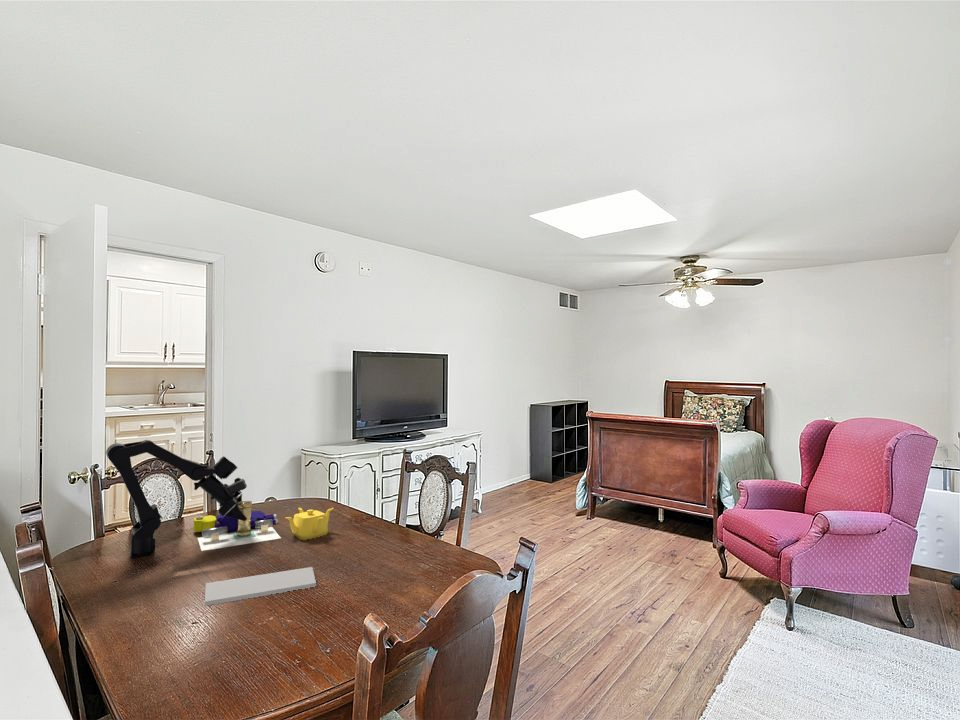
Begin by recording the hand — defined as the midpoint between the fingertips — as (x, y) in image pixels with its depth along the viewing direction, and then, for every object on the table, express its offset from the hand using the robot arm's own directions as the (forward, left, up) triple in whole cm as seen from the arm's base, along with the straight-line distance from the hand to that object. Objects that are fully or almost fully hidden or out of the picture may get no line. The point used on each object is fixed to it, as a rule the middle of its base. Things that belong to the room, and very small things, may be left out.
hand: (247, 516), depth 192 cm
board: (-3, -2, -8) cm, 9 cm away
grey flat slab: (-4, -49, -9) cm, 50 cm away
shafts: (-3, 0, -7) cm, 8 cm away
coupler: (-1, 0, -7) cm, 7 cm away
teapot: (+21, -8, -8) cm, 24 cm away
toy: (-2, +12, -8) cm, 15 cm away
